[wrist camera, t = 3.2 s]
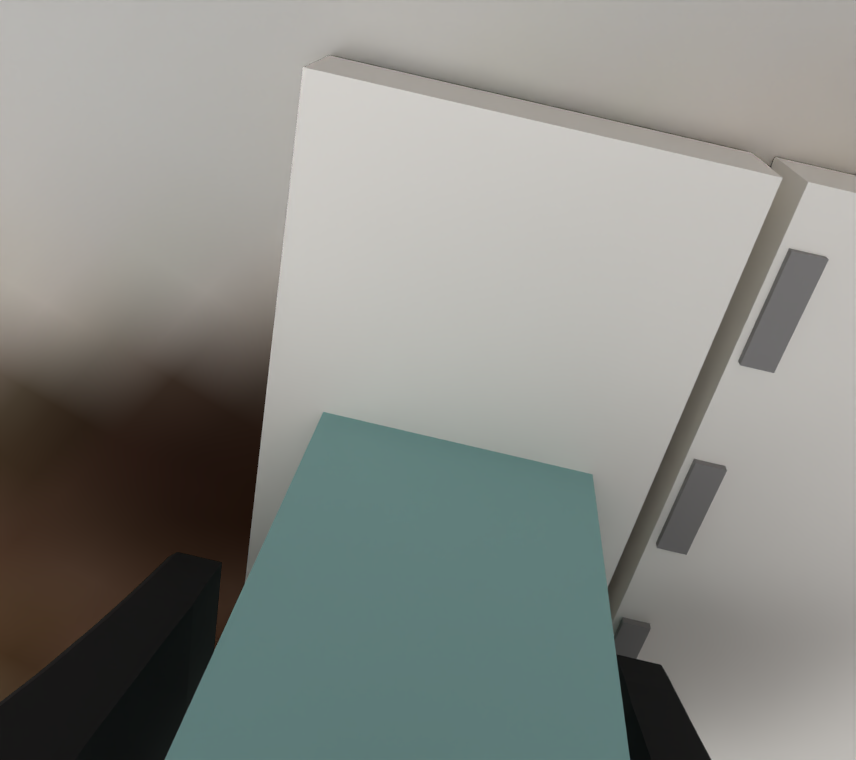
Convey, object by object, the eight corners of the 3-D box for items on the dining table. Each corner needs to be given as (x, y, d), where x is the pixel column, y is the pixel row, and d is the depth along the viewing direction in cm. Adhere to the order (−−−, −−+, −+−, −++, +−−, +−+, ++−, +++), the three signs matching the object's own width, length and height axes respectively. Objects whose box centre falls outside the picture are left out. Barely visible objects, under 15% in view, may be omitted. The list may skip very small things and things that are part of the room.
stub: (751, 153, 9) (1197, 516, 3) (476, 840, 16) (446, 1364, 10) (329, 55, 9) (-53, 226, 3) (236, 784, 16) (62, 1274, 10)
